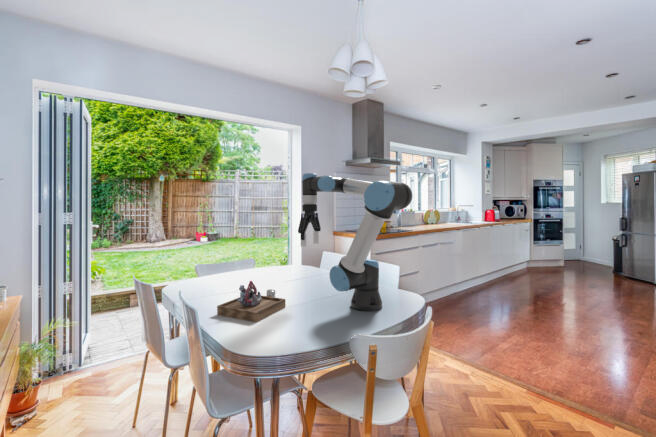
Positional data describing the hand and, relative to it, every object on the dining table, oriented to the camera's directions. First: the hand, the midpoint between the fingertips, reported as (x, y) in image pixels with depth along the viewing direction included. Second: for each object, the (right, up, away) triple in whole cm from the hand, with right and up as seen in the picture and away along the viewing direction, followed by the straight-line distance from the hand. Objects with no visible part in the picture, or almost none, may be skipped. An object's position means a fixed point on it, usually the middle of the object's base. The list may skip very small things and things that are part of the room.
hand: (309, 244), depth 167 cm
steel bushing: (-20, -29, 0) cm, 35 cm away
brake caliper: (-27, -27, -16) cm, 41 cm away
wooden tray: (-26, -29, -16) cm, 42 cm away
